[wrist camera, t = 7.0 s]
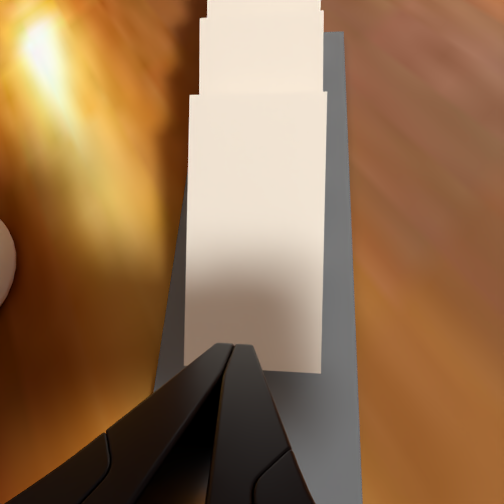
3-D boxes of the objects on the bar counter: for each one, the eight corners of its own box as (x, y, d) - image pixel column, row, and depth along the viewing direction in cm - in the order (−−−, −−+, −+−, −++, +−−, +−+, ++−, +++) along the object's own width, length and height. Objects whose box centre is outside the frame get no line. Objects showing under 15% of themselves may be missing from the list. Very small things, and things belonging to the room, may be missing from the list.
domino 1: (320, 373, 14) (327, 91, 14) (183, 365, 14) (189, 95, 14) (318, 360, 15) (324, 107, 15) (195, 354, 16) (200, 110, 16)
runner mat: (361, 524, 13) (363, 526, 13) (140, 502, 14) (136, 504, 14) (342, 37, 23) (343, 31, 22) (209, 43, 24) (208, 37, 23)
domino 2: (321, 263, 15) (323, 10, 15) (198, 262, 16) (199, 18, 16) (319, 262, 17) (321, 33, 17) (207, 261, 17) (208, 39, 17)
